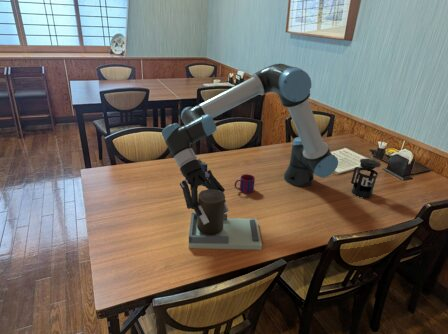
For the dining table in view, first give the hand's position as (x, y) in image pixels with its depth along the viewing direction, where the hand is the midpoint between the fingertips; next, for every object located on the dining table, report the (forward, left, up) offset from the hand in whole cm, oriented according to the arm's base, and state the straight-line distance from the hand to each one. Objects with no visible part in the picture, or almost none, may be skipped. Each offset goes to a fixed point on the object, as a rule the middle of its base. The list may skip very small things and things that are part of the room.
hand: (217, 217), depth 110 cm
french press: (-71, -37, -9) cm, 81 cm away
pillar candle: (+2, -2, -6) cm, 7 cm away
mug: (-13, -36, -10) cm, 40 cm away
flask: (+9, -47, -10) cm, 49 cm away
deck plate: (-3, -2, -9) cm, 10 cm away
